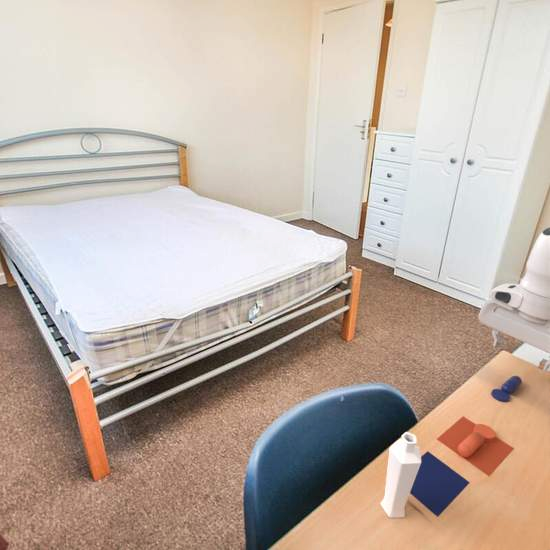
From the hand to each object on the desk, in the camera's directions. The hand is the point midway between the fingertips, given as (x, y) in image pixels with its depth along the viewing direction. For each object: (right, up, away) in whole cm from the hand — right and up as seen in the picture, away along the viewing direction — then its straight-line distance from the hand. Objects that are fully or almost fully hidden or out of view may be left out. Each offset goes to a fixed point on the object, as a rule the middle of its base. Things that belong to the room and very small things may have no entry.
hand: (519, 357), depth 84 cm
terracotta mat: (-16, -14, -12) cm, 25 cm away
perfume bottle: (-35, -19, -23) cm, 46 cm away
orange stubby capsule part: (-16, -14, -12) cm, 24 cm away
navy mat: (-27, -17, -19) cm, 38 cm away
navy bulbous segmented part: (-1, -8, +2) cm, 9 cm away
